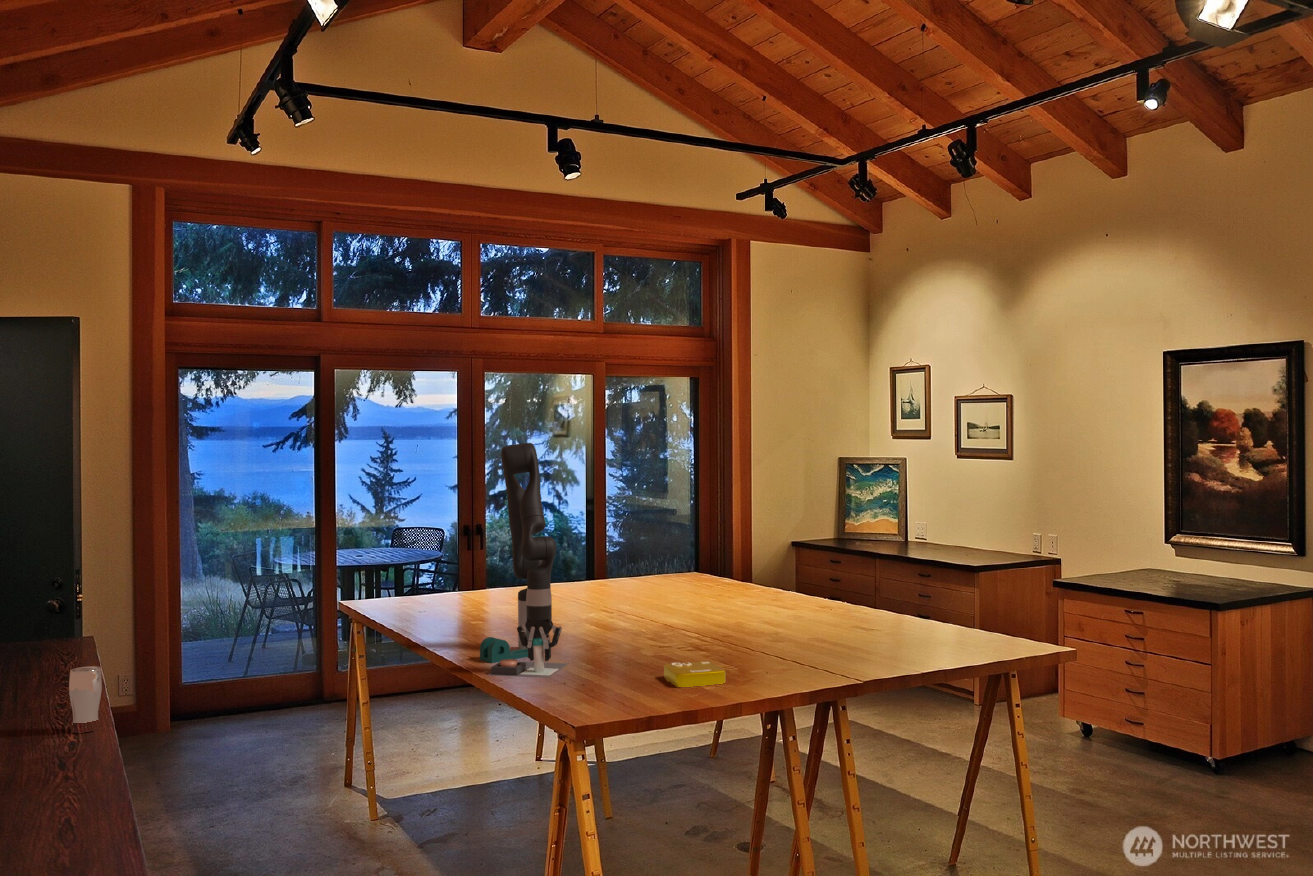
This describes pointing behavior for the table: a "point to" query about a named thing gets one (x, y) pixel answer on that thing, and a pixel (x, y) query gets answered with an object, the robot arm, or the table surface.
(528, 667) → the drawing board
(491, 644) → the bracket
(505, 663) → the button
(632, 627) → the table surface
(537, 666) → the marker
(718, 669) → the element tile
